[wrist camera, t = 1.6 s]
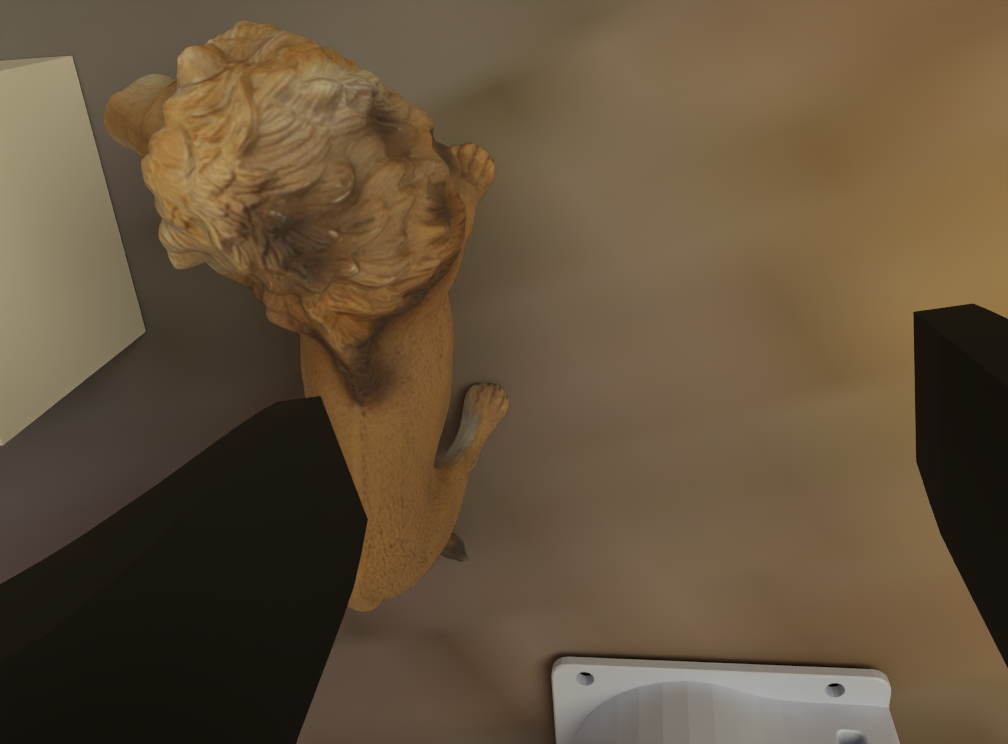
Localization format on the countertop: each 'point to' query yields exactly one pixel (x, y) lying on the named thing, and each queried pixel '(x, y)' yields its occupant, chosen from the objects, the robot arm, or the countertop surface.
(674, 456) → the countertop surface
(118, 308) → the book row
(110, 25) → the countertop surface
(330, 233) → the lion figurine
